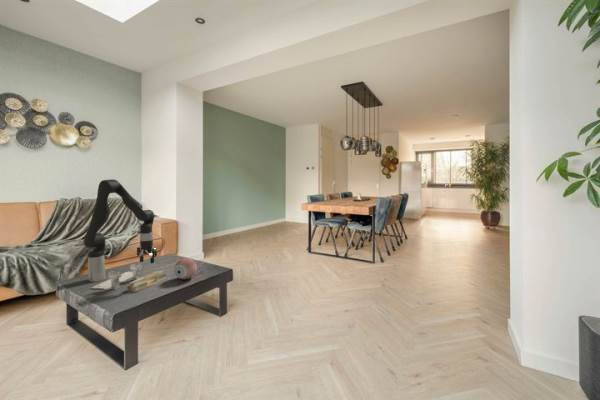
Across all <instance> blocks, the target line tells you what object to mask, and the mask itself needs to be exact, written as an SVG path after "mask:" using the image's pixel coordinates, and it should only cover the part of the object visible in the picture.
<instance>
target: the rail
mask: <svg viewBox="0 0 600 400" xmlns="http://www.w3.org/2000/svg"><path fill="white" fill-rule="evenodd" d="M163 272H164V271H163V270H157V271H153V272H152V273H150V274H148V275H145V276H142V277H140V279H138V280H135V281H134V280H132V281H131V282H129V285H130V290H134V287H136V286H138V285H140V284H143V283H145V282H147V284H149V283H151V282H153V281H155V278H156V277H158V276H160V275H162V274H164V273H163Z"/></svg>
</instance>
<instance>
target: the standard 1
mask: <svg viewBox="0 0 600 400" xmlns="http://www.w3.org/2000/svg"><path fill="white" fill-rule="evenodd" d="M121 274H122V271H117V272H116V271H115V270H113V271H112V270H111V271H109V272H108V279H111V287H110V289H111V290H114V291H116V290H117V289H120V283H119V278H120V277H121Z"/></svg>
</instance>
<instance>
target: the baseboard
mask: <svg viewBox="0 0 600 400" xmlns="http://www.w3.org/2000/svg"><path fill="white" fill-rule="evenodd" d="M130 278H133V273H132V271H125V272H123V273H121V277H120V278H119V284H120V283H122V282H123V283H124V282H125V281H127V280H129V279H130ZM90 287H91V289H92V290H106V291H107V290H108V289H111V278H108V280H105V281H103V282H100V283H98V284H96V285H94V286H92V285H91V286H90Z"/></svg>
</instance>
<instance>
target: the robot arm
mask: <svg viewBox="0 0 600 400" xmlns="http://www.w3.org/2000/svg"><path fill="white" fill-rule="evenodd" d="M110 194H116V195H118V196H119V197H121V200H122V203H123V205H124V206H125V207H126V208H127V209H129V210H130V211H131V212H132V213H133V214H134V216H135V217H136V219H137V220H138V221H141V222H143V223H142V224H141V225H139V226H140V227H139V232H140V233H139V234H140V235H139V246H138V247H137V248H136V256H137V257H139V262H140V263H143V262H144V259H145V258H144V255H147V256H149V260H150V261H149V263H150V264H154V263H155V258H156V257H157V256H158V254H157V247H154V248H153V245H154V242H153V241H154V237H153V236H154V235H153V224H154V221H155V220H154V219H155V214H154V213H155V212H154V211H153V210H151V209H143V205H142V203H140V202H139V201H138V200H137V199H135V198H134V197H133V196H132V195H131V194H130V193H129V191H128V190H127V189H126V188H125V187H124V186H123V185H122V184H121V182H119V181H118V180H116V179H103V180H101V181H100V182H99V184H98V188H97V194H96V195H97V196H96V200H95V205H94V208H93V211H92V214H91V220H90V223H89V226H88V228H87V231H86V234H85V236H84V238H83V245H84V246H85V248H87V249H90V248H93V249H92V250H91V251H89V252H88V253H87V261H88V262H87V265H88V267H87V280H88V281H89V282H91V283H93V282H100V281H103V280H105V279H106V262H105V261H106V260H105V252H106V237H105V235H104V234H103V233H101V232H99V230H100V229H101V228H102V227H103V226H104V225H105V224H107V222H108V220H109V217H110V214H111V207H110V206H109V203H108V200H109V199H108V198H109V196H110Z"/></svg>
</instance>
